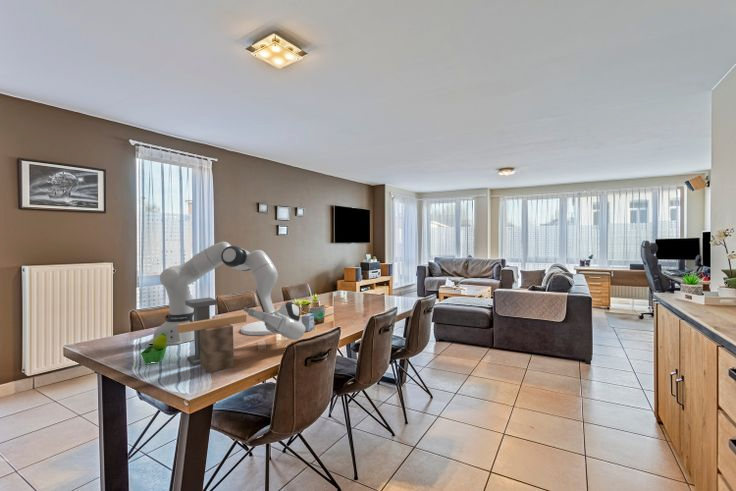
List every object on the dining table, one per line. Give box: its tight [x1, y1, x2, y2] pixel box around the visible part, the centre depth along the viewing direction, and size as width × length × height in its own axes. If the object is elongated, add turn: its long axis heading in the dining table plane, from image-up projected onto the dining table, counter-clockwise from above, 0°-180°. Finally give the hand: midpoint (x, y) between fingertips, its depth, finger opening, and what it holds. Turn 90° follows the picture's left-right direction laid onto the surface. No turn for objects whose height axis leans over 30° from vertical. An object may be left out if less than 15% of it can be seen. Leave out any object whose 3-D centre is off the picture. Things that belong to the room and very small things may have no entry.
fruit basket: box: [140, 334, 168, 364], centre depth 155 cm, size 11×9×11 cm
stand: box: [185, 297, 218, 367], centre depth 153 cm, size 10×10×26 cm
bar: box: [177, 313, 247, 333], centre depth 145 cm, size 26×3×3 cm, turn 131°
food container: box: [308, 304, 327, 325], centre depth 218 cm, size 12×6×10 cm, turn 148°
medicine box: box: [301, 312, 315, 333], centre depth 202 cm, size 8×4×9 cm, turn 168°
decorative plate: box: [240, 320, 276, 336], centre depth 205 cm, size 25×4×25 cm
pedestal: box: [199, 324, 235, 374], centre depth 146 cm, size 10×10×16 cm
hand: (248, 310), depth 155 cm, fingers open, 8 cm apart
